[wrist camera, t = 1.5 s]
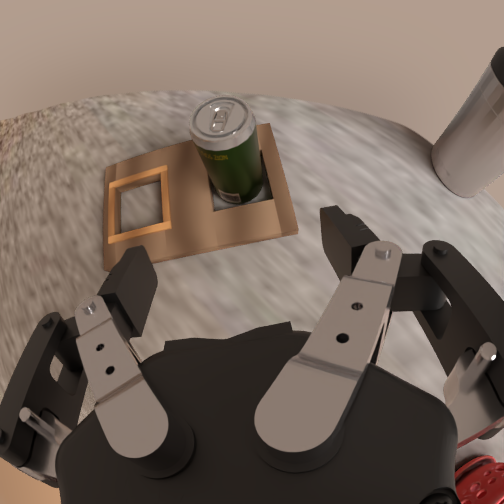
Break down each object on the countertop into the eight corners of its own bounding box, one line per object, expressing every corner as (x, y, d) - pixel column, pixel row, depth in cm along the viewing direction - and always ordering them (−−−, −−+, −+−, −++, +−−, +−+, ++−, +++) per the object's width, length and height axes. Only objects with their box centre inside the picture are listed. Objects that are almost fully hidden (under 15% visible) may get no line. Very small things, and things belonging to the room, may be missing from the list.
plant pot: (409, 503, 19) (444, 548, 8) (480, 434, 20) (533, 458, 9) (438, 527, 16) (469, 562, 4) (499, 469, 17) (540, 491, 6)
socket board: (270, 130, 33) (269, 121, 31) (297, 233, 29) (298, 228, 27) (111, 172, 34) (104, 166, 32) (111, 272, 30) (102, 269, 28)
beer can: (260, 208, 30) (250, 144, 19) (213, 205, 31) (178, 143, 19) (265, 166, 31) (258, 93, 20) (220, 164, 32) (194, 94, 20)
